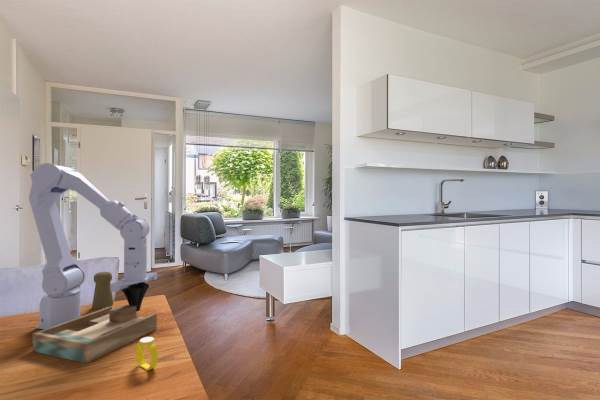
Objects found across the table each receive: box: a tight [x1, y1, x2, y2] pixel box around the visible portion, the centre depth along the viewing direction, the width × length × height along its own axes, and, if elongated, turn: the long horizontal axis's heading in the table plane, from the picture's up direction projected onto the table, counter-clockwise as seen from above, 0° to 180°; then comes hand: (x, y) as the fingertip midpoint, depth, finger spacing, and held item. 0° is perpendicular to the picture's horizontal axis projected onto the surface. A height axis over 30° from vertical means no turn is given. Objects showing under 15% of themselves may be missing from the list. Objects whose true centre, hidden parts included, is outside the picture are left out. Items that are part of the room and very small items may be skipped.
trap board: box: [31, 306, 158, 364], centre depth 82 cm, size 17×20×4 cm
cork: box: [91, 271, 114, 310], centre depth 107 cm, size 6×6×11 cm
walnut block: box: [109, 304, 137, 323], centre depth 89 cm, size 4×5×3 cm
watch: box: [135, 336, 159, 372], centre depth 68 cm, size 6×3×6 cm, turn 55°
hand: (135, 310), depth 93 cm, fingers closed
